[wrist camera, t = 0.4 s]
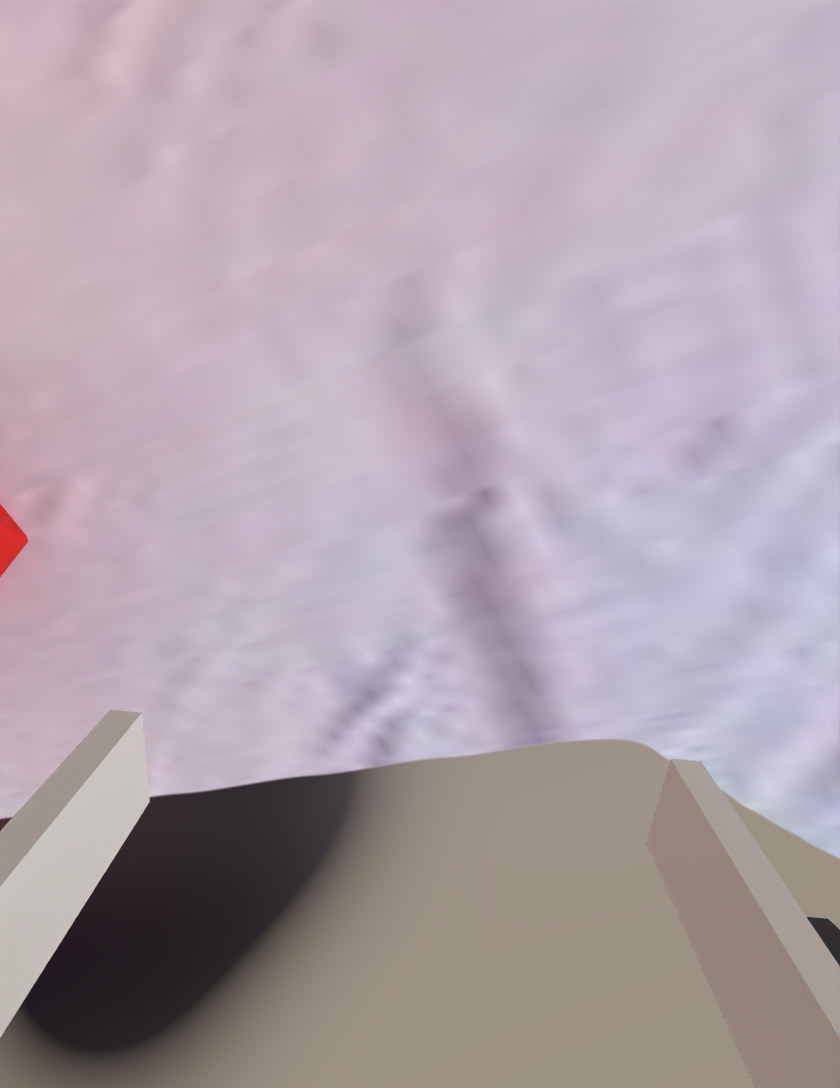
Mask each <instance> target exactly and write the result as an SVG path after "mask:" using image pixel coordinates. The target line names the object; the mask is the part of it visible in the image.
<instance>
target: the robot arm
mask: <svg viewBox="0 0 840 1088" xmlns="http://www.w3.org/2000/svg"><path fill="white" fill-rule="evenodd" d="M149 801H150V800H149V788H148V777H147V766H146V754H145V743H144V732H143V720H142V713H139V712H127V711H116V710H110V711H109V712H108V713H107V714H106V716H105V717H104V718H103V719H102V720H101V721H100V722H99V723H98V724H97V725H96V726H95V728H94V729H93V730H92V731H91V732H90V733H89V734H88V735H87V736H86V737H85V739H84V740H83V741H82V742H81V743H80V744H79V745H78V746H77V747H76V748H75V750H74V751H73V752H72V753H71V754H70V755H69V756H68V757H67V758H66V759H65V761H64V762H63V763H62V764H61V765H60V766H59V767H58V768H57V769H56V770H55V772H54V773H53V774H52V775H51V776H50V777H49V778H48V779H47V780H46V781H45V783H44V784H43V785H42V786H41V787H40V788H39V789H38V790H37V791H36V792H35V794H34V795H33V796H32V797H31V798H30V799H29V800H28V801H27V802H26V803H25V805H24V806H23V807H22V808H21V809H20V810H19V811H18V812H17V813H16V814H15V816H14V817H13V818H12V819H11V820H10V821H9V822H8V824H6V826H5V827H4V828H3V829H2V830H1V831H0V1037H1V1035H2V1034H3V1032H4V1031H5V1029H6V1027H7V1026H8V1024H9V1023H10V1021H11V1020H12V1018H13V1016H14V1015H15V1013H16V1012H17V1010H18V1009H19V1007H20V1005H21V1004H22V1002H23V1001H24V999H25V997H26V996H27V994H28V993H29V991H30V990H31V988H32V986H33V985H34V983H35V982H36V980H37V979H38V977H39V975H40V974H41V972H42V970H43V969H44V968H45V966H46V964H47V963H48V961H49V960H50V958H51V956H52V955H53V953H54V952H55V950H56V948H57V947H58V945H59V944H60V942H61V941H62V939H63V937H64V936H65V934H66V933H67V931H68V930H69V928H70V926H71V925H72V923H73V922H74V920H75V918H76V917H77V915H78V914H79V912H80V911H81V909H82V907H83V906H84V904H85V903H86V901H87V900H88V898H89V896H90V895H91V893H92V892H93V890H94V888H95V887H96V885H97V883H98V882H99V881H100V879H101V877H102V876H103V874H104V873H105V871H106V870H107V868H108V866H109V864H110V863H111V862H112V860H113V858H114V857H115V855H116V854H117V852H118V850H119V849H120V847H121V846H122V844H123V843H124V841H125V839H126V838H127V836H128V835H129V833H130V832H131V830H132V828H133V827H134V825H135V824H136V822H137V821H138V819H139V817H140V816H141V814H142V813H143V811H144V809H145V808H146V806H147V805H148V803H149ZM646 845H647V847H648V849H649V852H650V854H651V856H652V859H653V861H654V863H655V865H656V867H657V869H658V872H659V874H660V876H661V878H662V881H663V883H664V885H665V888H666V890H667V892H668V894H669V897H670V899H671V901H672V903H673V905H674V908H675V910H676V912H677V914H678V917H679V919H680V921H681V923H682V926H683V928H684V930H685V932H686V935H687V937H688V939H689V941H690V943H691V946H692V948H693V950H694V952H695V955H696V957H697V959H698V961H699V963H700V966H701V968H702V970H703V973H704V975H705V977H706V979H707V982H708V984H709V986H710V988H711V990H712V992H713V995H714V997H715V999H716V1001H717V1004H718V1006H719V1008H720V1011H721V1013H722V1015H723V1017H724V1020H725V1022H726V1024H727V1026H728V1028H729V1031H730V1033H731V1035H732V1037H733V1039H734V1042H735V1044H736V1046H737V1049H738V1051H739V1053H740V1055H741V1058H742V1060H743V1062H744V1064H745V1066H746V1069H747V1071H748V1073H749V1075H750V1078H751V1080H752V1082H753V1084H754V1087H755V1088H840V930H839V929H838V928H837V927H836V926H835V925H834V924H833V923H832V922H831V921H830V920H828V919H824V918H823V919H822V918H812V917H806V916H805V914H804V913H803V911H802V910H801V908H800V907H799V905H798V904H797V902H796V901H795V899H794V898H793V896H792V895H791V894H790V892H789V891H788V889H787V888H786V886H785V885H784V883H783V882H782V880H781V879H780V877H779V876H778V875H777V873H776V871H775V870H774V868H773V867H772V865H771V864H770V862H769V861H768V860H767V858H766V857H765V855H764V854H763V852H762V851H761V849H760V848H759V847H758V845H757V843H756V842H755V840H754V839H753V837H752V836H751V835H750V833H749V831H748V830H747V828H746V827H745V825H744V824H743V823H742V821H741V820H740V818H739V817H738V815H737V814H736V812H735V811H734V809H733V808H732V806H731V805H730V803H729V802H728V800H727V799H726V797H725V796H724V794H723V793H722V791H721V790H720V789H719V787H718V786H717V784H716V783H715V781H714V780H713V778H712V777H711V775H710V774H709V772H708V771H707V769H706V768H705V766H704V765H703V763H702V762H700V761H689V760H677V759H671V760H670V764H669V767H668V771H667V774H666V777H665V781H664V784H663V787H662V791H661V794H660V798H659V801H658V804H657V807H656V811H655V814H654V818H653V821H652V825H651V828H650V831H649V834H648V838H647V841H646Z"/></svg>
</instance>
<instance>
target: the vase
mask: <svg viewBox="0 0 840 1088" xmlns="http://www.w3.org/2000/svg"><path fill="white" fill-rule="evenodd" d="M27 542H28V539H27V537H26V535H25V534H24V533H23V532H22V530H21V529H20V528H19V527H18V526H17V524H16V523H15V522H14V521H13V519H12V518H11V517H10V516H9V515H8V513H7V512H6V511H5V510H4V508H3V507H2V506H1V505H0V577H1V575H2V574H3V573H4V572H5V570H6V569H7V568H8V566H9V565H10V564H11V562H12V561H13V560H14V559H15V557H16V556H17V555H18V553H19V552H20V551H21V550H22V548H23V547H24V546H25V544H26V543H27Z"/></svg>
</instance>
